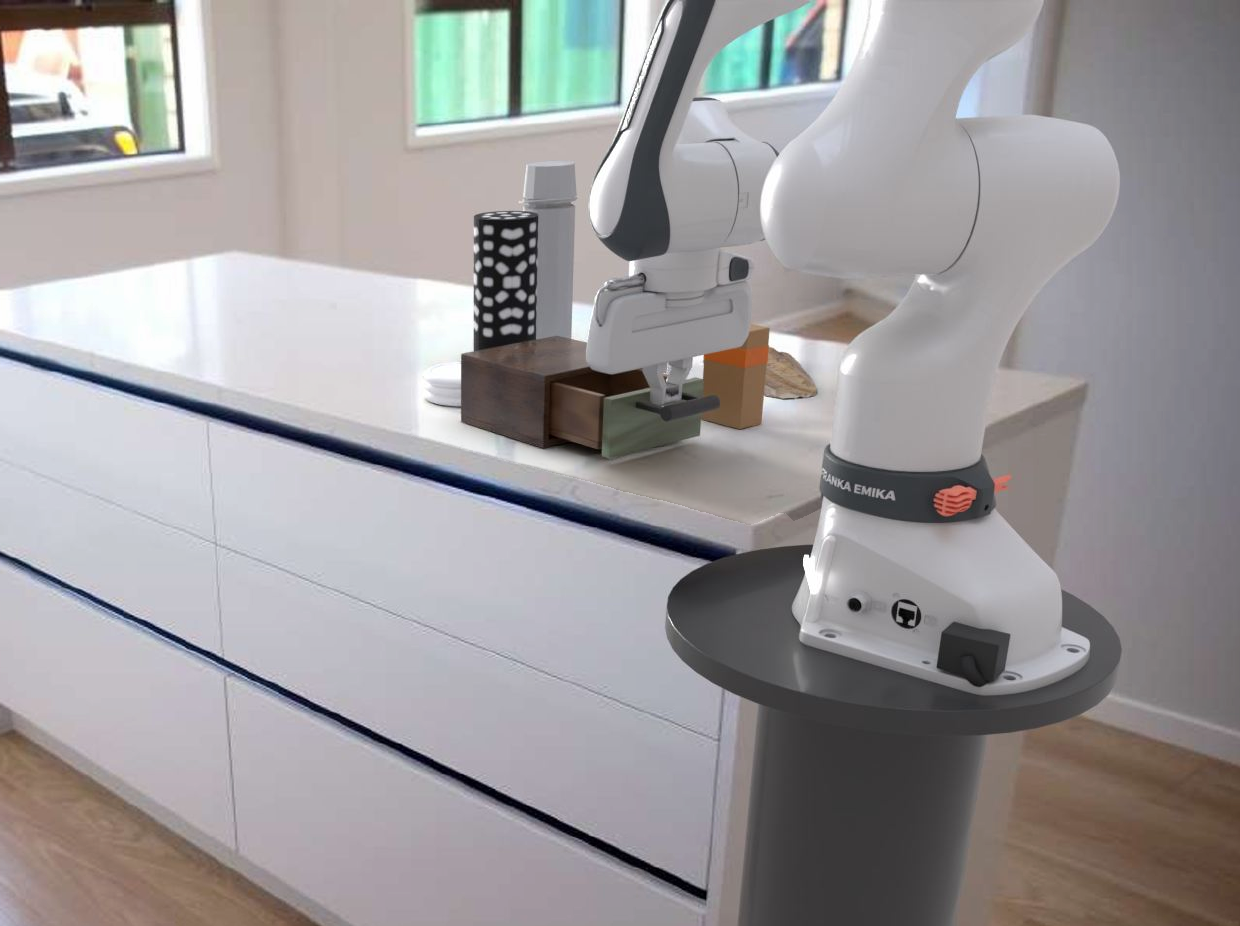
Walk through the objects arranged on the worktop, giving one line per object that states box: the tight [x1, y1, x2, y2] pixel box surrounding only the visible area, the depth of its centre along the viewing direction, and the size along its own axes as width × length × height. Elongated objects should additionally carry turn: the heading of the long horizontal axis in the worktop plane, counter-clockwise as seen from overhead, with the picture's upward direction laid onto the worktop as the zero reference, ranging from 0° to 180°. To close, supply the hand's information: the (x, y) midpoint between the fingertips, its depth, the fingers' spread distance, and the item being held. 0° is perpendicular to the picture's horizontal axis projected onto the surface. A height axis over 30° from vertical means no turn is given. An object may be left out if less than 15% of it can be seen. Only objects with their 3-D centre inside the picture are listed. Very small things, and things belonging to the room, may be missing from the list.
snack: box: [701, 323, 771, 430], centre depth 160 cm, size 6×4×11 cm, turn 32°
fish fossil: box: [703, 346, 818, 400], centre depth 181 cm, size 26×10×1 cm, turn 8°
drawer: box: [549, 368, 720, 459], centre depth 153 cm, size 19×13×6 cm
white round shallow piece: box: [423, 361, 461, 407], centre depth 176 cm, size 10×10×4 cm
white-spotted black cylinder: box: [473, 210, 539, 351], centre depth 187 cm, size 8×8×20 cm
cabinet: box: [460, 336, 643, 449], centre depth 163 cm, size 15×15×8 cm
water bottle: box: [518, 160, 578, 339], centre depth 197 cm, size 9×8×25 cm
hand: (665, 401), depth 148 cm, fingers closed
